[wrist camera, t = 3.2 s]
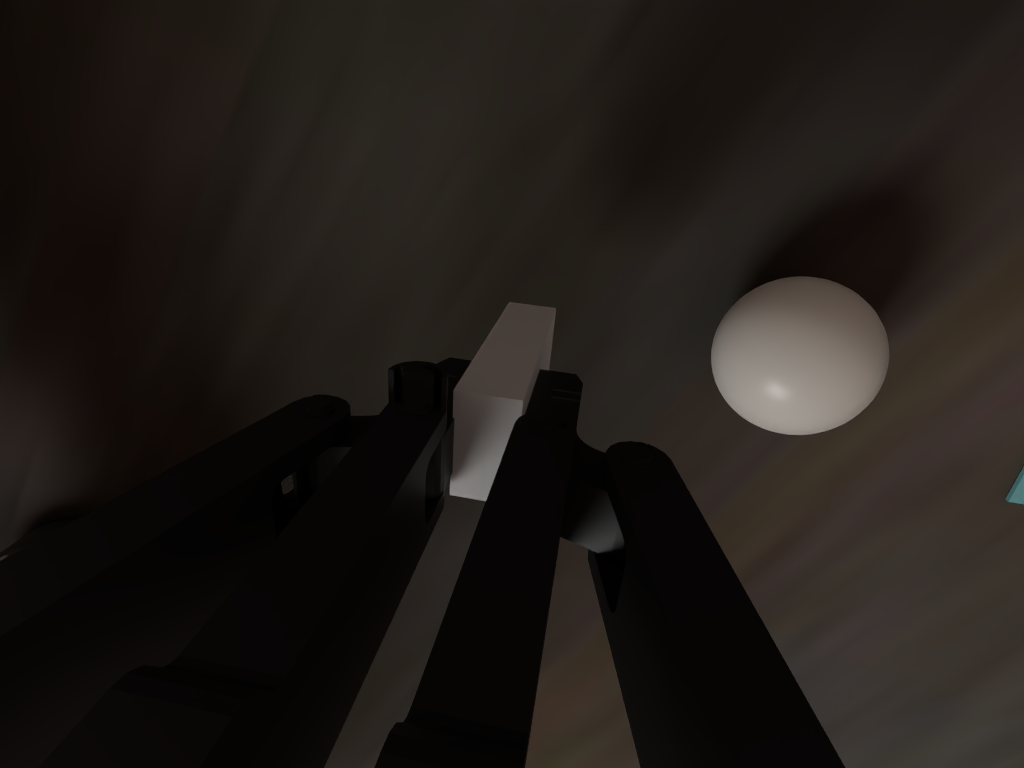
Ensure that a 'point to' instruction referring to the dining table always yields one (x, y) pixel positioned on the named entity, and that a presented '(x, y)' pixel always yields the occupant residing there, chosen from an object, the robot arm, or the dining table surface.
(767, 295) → the ball
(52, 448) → the dining table surface
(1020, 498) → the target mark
